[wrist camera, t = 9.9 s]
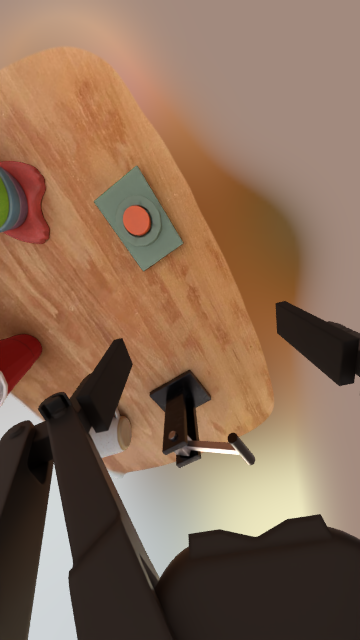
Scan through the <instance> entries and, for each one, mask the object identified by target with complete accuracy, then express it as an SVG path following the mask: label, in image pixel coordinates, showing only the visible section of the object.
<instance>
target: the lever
mask: <svg viewBox="0 0 360 640" xmlns="http://www.w3.org/2000/svg"><path fill="white" fill-rule="evenodd" d="M187 437H188V445H187V446H184V447H182V448H180V449H178V450H176V451H174V453H176V454H177V455H183V456H190V452H191V450H195V451H205V452H216V453H227V454H239V455H240V456H241V457H242V458H243V459H244V461H245V462H246V463H247V464H248V465H253V464H254V462H255V457H254V455H253V454H252V453H251V452H250V451H249V449H248V448H247V447H246V446H245V444H244V443H243V442H242V441H241V439H240V438H239V437H238V436H237V434H235V433H231V434H229V436H228V442H229V443H226V442H208V441H192V440H191V438H190V437H189V436H188V435H187Z"/></svg>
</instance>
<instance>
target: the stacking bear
mask: <svg viewBox="0 0 360 640" xmlns="http://www.w3.org/2000/svg"><path fill="white" fill-rule="evenodd" d="M45 189H46V187H45V183H44V177H43V176H42V175H41V174H40V173H39V171H38V170H37V169H36V168H35V167H33V166H31V165H29V164H25V163H21V162H15V161H2V162H0V232H4V233H5V234H7V235H9V236H11V237H13V238H15V239H18V240H21V241H24V242H29V243H36V244H42V243H44V242H45V241H46V240H47V239H48V238H49V227H48V225H47V223H46V222H45V220H44V218H43V215H42V212H41V199H42V197H43V195H44V193H45Z"/></svg>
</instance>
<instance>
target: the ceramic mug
mask: <svg viewBox="0 0 360 640" xmlns="http://www.w3.org/2000/svg"><path fill="white" fill-rule="evenodd" d="M115 415H116V417H113V419H112V422H111V425H110V427H109V430H108V431H105V432H100V433H96V432H95V431H94V429H93V427H91V429H90V431H89V434H90V435H91V437H92V439H93V441H94V444H95V446H96V448H97V450H98V452H99V454H100V456H101V458H103V457H106V456H110V455H113V454H117V453H120V452H122V451H124V450H126V449H127V448H128V447H129V445H130V442H131V437H132V432H131V425H130V422H129V420H128V419H127V418H126V417H125V416H120V415H119V411H118V409H117V408H116V411H115Z"/></svg>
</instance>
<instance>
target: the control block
mask: <svg viewBox="0 0 360 640" xmlns="http://www.w3.org/2000/svg"><path fill="white" fill-rule="evenodd" d="M94 203H95V204H96V205H97V207H98V208H99V210H100V211H101V213H102V214H103V215H104V217H105V218H106V220H107V221H108V222H109V224H110V225H111V227H112V228H113V229H114V231H115V232H116V234H117V235H118V237H119V238H120V239H121V241H122V242H123V244H124V245H125V246H126V248H127V249H128V251H129V252H130V253H131V255H132V256H133V258H134V259H135V261H136V262H137V263H138V265H139V266H140V268H141V269H142V270H143V271H145V270H146V269H148V268H149V267H151V266H152V265H153V264H155V263H156V262H158V261H159V260H161V259H162V258H163V257H165V256H166V255H168V254H169V253H170V252H172V251H173V250H175V249H176V248H178V247H179V246H180V245H182V244H183V242H182V240H181V238H180V237H179V235H178V233H177V231H176V230H175V228H174V226H173V225H172V223H171V221H170V220H169V218H168V216H167V215H166V213H165V211H164V210H163V208H162V206H161V205H160V203H159V201H158V200H157V198H156V196H155V195H154V193H153V191H152V190H151V188H150V186H149V185H148V183H147V181H146V179H145V178H144V176H143V174H142V173H141V171H140V169H139V168H138V166H135V167H134V168H133V169H132V170H131V171H129V172H128V173H127V174H126V175H125V176H123V177H122V178H121V179H120V180H119V181H118V182H116V183H115V184H114V185H113V186H112V187H110V188H109V189H108V190H107V191H106V192H104V193H103V194H102V195H101V196H100V197H98V198H97V199H96V200H95V201H94ZM134 205H136V206H140V207H142V208H143V209H144V210H145V211H146V212H147V213H148V214H149V216H150V219H151V226H150V229H149V231H148V232H147V233H146V234H144V235H141V236H138V235H134V234H131V233H130V232H129V231H128V230H127V229H126V228H125V226H124V223H123V215H124V212H125V210H126V209H127V208H129V207H130V206H134Z"/></svg>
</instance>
